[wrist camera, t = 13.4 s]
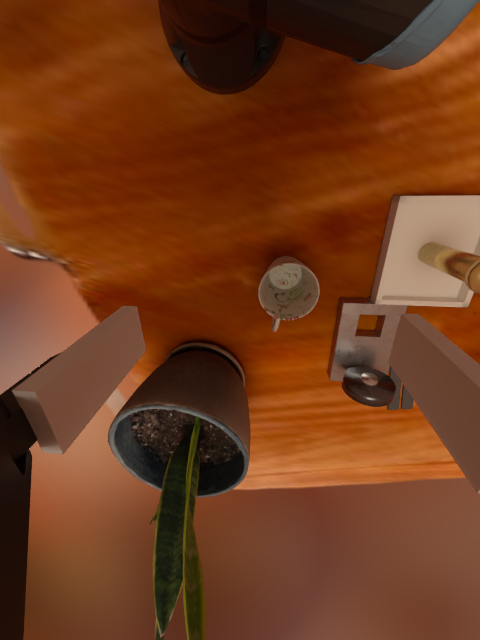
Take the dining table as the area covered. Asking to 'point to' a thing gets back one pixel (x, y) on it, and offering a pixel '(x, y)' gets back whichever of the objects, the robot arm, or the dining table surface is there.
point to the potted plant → (184, 461)
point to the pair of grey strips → (406, 397)
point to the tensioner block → (364, 351)
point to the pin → (453, 263)
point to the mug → (288, 290)
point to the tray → (410, 235)
